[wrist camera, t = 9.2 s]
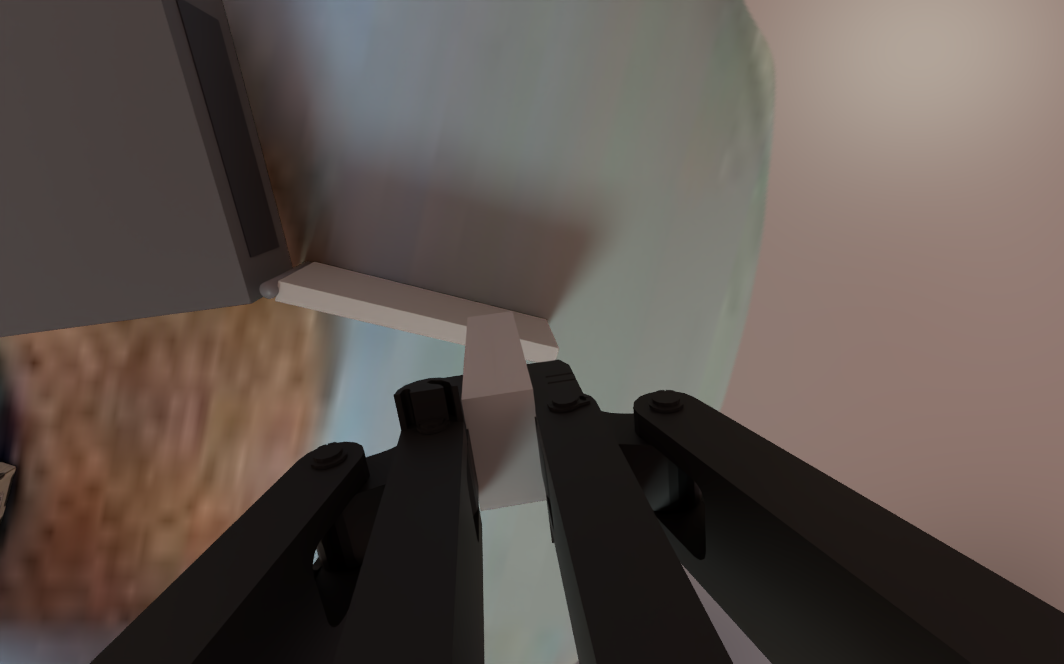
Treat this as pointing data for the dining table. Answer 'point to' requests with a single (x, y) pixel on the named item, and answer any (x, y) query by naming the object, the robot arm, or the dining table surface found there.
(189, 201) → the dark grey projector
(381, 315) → the side door
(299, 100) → the dining table surface
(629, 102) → the dining table surface
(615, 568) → the robot arm
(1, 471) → the candy bar box
